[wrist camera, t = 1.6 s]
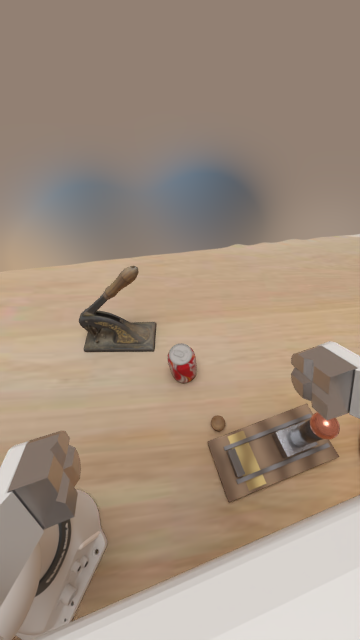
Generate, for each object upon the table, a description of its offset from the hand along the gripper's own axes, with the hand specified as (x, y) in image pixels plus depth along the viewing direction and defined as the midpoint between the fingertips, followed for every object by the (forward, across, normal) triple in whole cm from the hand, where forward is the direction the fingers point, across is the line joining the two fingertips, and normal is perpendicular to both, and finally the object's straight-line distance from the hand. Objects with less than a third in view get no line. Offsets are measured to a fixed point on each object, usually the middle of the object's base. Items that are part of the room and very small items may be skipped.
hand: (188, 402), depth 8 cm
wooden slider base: (+28, +19, -49) cm, 59 cm away
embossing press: (+66, -9, -28) cm, 72 cm away
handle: (+27, +24, -46) cm, 59 cm away
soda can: (+50, +6, -36) cm, 62 cm away
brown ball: (+36, +10, -44) cm, 58 cm away
